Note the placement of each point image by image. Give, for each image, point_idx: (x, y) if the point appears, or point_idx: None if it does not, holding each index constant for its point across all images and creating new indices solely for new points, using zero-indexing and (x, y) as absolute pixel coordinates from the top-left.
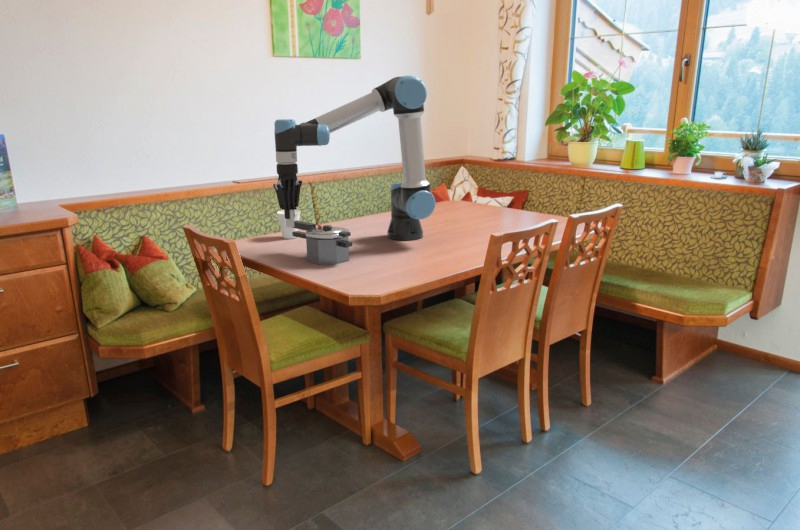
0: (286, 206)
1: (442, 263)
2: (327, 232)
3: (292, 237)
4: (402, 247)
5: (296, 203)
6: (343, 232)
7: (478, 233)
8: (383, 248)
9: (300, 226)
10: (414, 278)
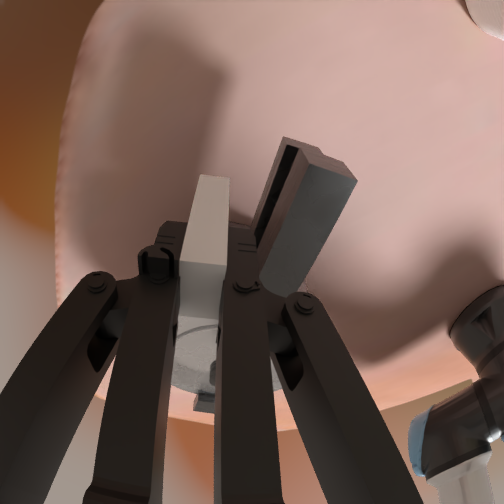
0: (118, 344)
1: (286, 414)
2: (189, 379)
3: (474, 21)
4: (392, 352)
5: (275, 367)
6: (206, 406)
7: (474, 373)
8: (382, 332)
9: (267, 237)
10: (188, 412)
